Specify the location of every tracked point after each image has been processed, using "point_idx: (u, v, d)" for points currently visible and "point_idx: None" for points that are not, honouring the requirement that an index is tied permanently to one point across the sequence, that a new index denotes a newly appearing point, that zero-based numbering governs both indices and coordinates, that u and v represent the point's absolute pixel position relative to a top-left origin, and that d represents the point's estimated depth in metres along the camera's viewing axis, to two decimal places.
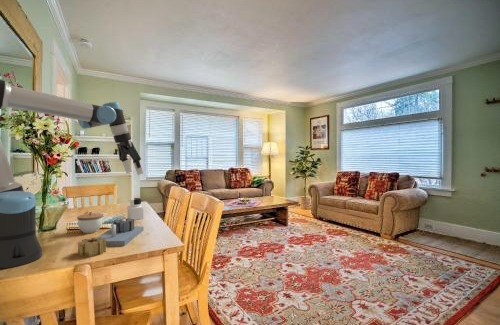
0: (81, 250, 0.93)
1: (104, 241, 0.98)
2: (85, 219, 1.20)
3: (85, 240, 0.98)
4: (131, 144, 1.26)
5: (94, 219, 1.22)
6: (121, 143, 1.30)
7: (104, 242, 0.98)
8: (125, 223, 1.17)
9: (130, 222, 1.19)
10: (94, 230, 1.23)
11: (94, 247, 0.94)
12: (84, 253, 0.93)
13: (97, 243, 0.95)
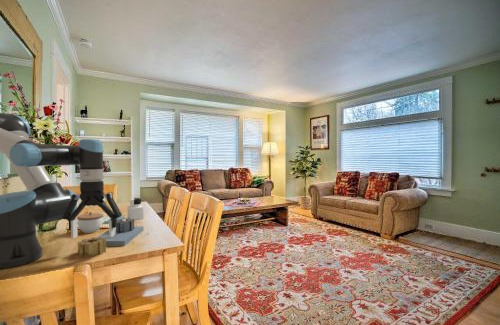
0: (81, 250, 0.93)
1: (104, 241, 0.98)
2: (85, 219, 1.20)
3: (85, 240, 0.98)
4: None
5: (94, 219, 1.22)
6: None
7: (104, 242, 0.98)
8: (125, 223, 1.17)
9: (130, 222, 1.19)
10: (94, 230, 1.23)
11: (94, 247, 0.94)
12: (84, 253, 0.93)
13: (97, 243, 0.95)
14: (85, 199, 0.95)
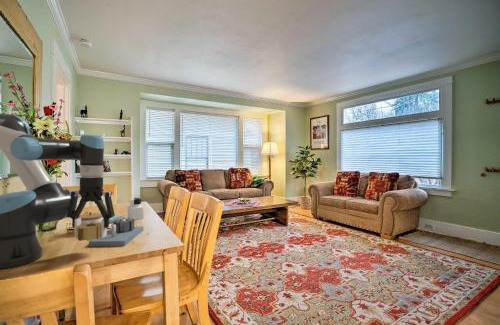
0: (79, 234, 0.93)
1: None
2: (85, 219, 1.20)
3: (84, 224, 0.98)
4: None
5: (94, 219, 1.22)
6: None
7: None
8: (125, 223, 1.17)
9: (130, 222, 1.19)
10: None
11: (93, 231, 0.95)
12: (82, 237, 0.93)
13: (96, 227, 0.95)
14: (84, 195, 0.95)
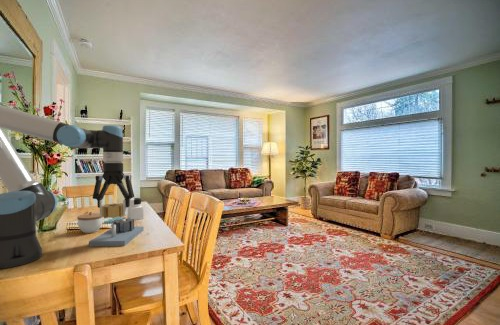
0: (105, 212, 1.06)
1: None
2: (85, 219, 1.20)
3: (107, 204, 1.11)
4: None
5: (94, 219, 1.22)
6: None
7: None
8: (125, 223, 1.17)
9: (130, 222, 1.19)
10: (94, 230, 1.23)
11: (116, 210, 1.07)
12: (107, 215, 1.06)
13: (119, 206, 1.08)
14: (108, 178, 1.08)
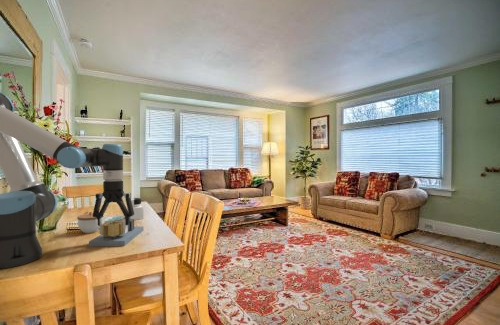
0: (105, 230, 1.06)
1: None
2: (85, 219, 1.20)
3: (107, 222, 1.11)
4: None
5: (94, 219, 1.22)
6: None
7: None
8: None
9: (130, 222, 1.19)
10: (94, 230, 1.23)
11: (116, 228, 1.07)
12: (107, 233, 1.06)
13: (119, 225, 1.08)
14: (108, 196, 1.08)
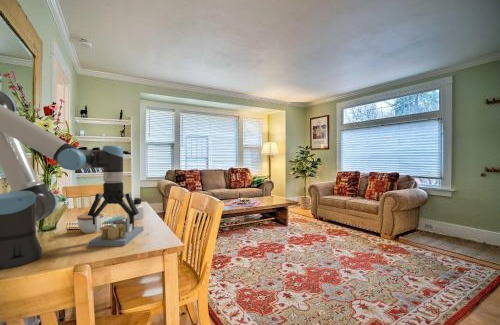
0: (104, 234, 1.06)
1: (124, 227, 1.11)
2: (85, 219, 1.20)
3: (107, 225, 1.11)
4: None
5: None
6: None
7: (124, 227, 1.11)
8: (125, 223, 1.17)
9: None
10: (94, 230, 1.23)
11: (116, 231, 1.07)
12: (107, 236, 1.06)
13: (118, 228, 1.08)
14: (107, 198, 1.08)
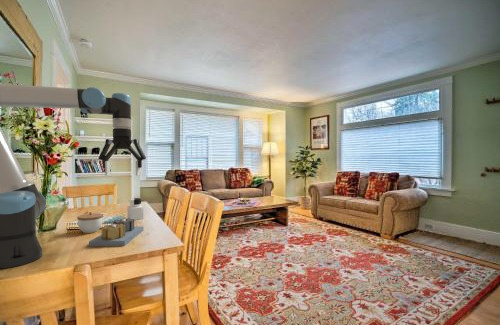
0: (104, 234, 1.06)
1: (124, 227, 1.11)
2: (85, 219, 1.20)
3: (107, 225, 1.11)
4: None
5: (94, 219, 1.22)
6: None
7: (124, 227, 1.11)
8: (125, 223, 1.17)
9: (130, 222, 1.19)
10: (94, 230, 1.23)
11: (116, 231, 1.07)
12: (107, 236, 1.06)
13: (118, 228, 1.08)
14: (117, 143, 1.15)
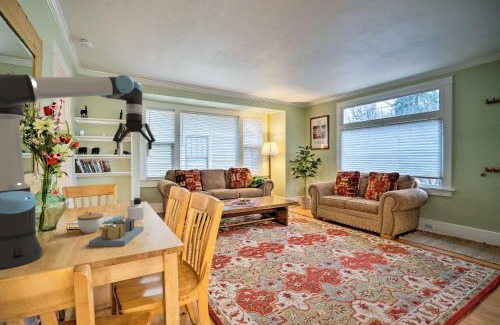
0: (104, 234, 1.06)
1: (124, 227, 1.11)
2: (85, 219, 1.20)
3: (107, 225, 1.11)
4: None
5: (94, 219, 1.22)
6: None
7: (124, 227, 1.11)
8: (125, 223, 1.17)
9: (130, 222, 1.19)
10: (94, 230, 1.23)
11: (116, 231, 1.07)
12: (107, 236, 1.06)
13: (118, 228, 1.08)
14: (129, 126, 1.28)
